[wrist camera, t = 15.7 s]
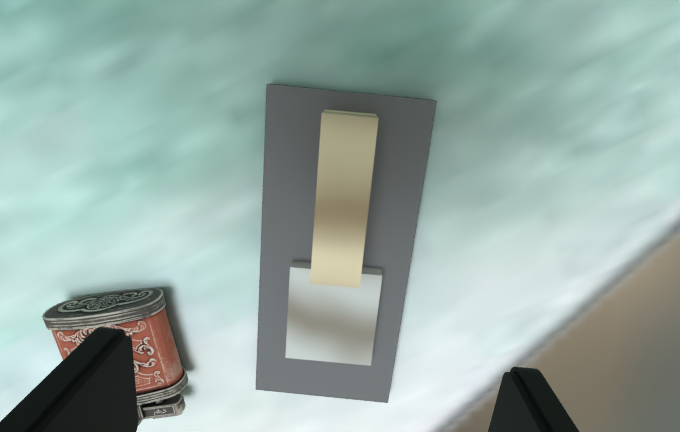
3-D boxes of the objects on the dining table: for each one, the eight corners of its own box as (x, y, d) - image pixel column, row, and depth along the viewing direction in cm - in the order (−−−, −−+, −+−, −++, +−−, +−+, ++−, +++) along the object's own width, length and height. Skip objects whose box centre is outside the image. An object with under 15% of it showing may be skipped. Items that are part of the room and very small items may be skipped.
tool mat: (270, 83, 25) (266, 84, 24) (432, 100, 25) (436, 100, 24) (259, 378, 32) (255, 389, 31) (386, 391, 32) (387, 402, 31)
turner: (300, 107, 24) (293, 110, 21) (401, 116, 24) (407, 120, 21) (287, 349, 30) (280, 377, 27) (370, 356, 30) (371, 385, 27)
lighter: (61, 298, 30) (102, 408, 33) (29, 324, 27) (78, 442, 30) (170, 284, 30) (201, 395, 33) (151, 308, 27) (188, 428, 30)
